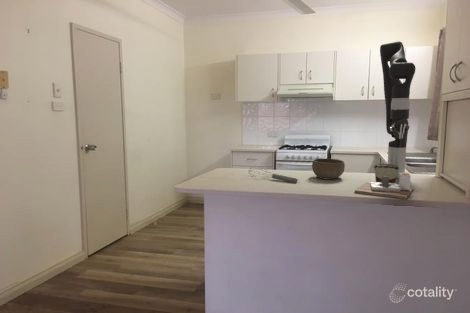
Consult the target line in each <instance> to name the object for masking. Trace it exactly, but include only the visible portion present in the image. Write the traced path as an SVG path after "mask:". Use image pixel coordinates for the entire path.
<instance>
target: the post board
mask: <svg viewBox="0 0 470 313" xmlns="http://www.w3.org/2000/svg"><path fill="white" fill-rule="evenodd" d="M388 182H389V177H388V176H382V184H381V186H388ZM414 189H415V188H414V187H413V186H410V190H400V192H392V191H375V190H372V189H371V185H370V182H368V181H367V182H365V183H363V184H362V185H360V186H359V187H357V188H356V189H354V194H359V193H362V195H367V194H371V195H370V196H376V195H379V196H378V197H384V196H388V197H387V198H392V197H398V198H397V199H400V198H407V197H408V196H409V197H410V195H411V194H412V193H413V191H414ZM410 193H411V194H410ZM409 197H408V198H409ZM408 198H407V199H408Z"/></svg>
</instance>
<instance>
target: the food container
mask: <svg viewBox="0 0 470 313" xmlns="http://www.w3.org/2000/svg"><path fill="white" fill-rule="evenodd" d="M373 169H374V176H375V177H374V178H375V182H382V176H388V177H389V182H388V183H397V179H398V178H397V172H398V169H399V167H398V165H394V164H388V163H376V164H374V165H373Z"/></svg>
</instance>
